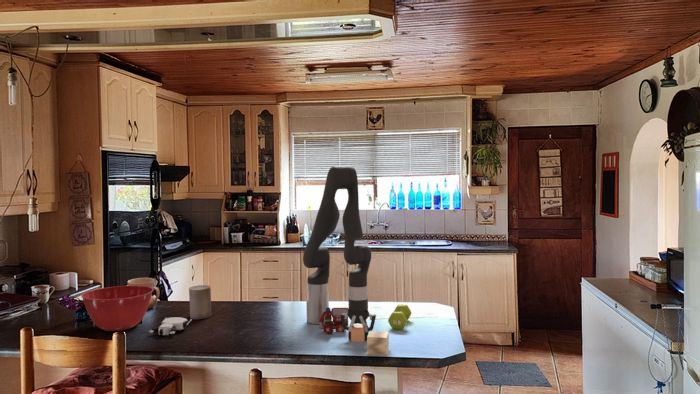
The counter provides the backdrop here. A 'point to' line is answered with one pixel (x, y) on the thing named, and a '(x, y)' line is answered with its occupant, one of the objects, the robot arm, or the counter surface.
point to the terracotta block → (357, 333)
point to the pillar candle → (200, 302)
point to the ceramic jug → (148, 283)
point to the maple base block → (377, 342)
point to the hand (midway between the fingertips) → (358, 340)
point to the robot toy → (170, 325)
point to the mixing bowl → (117, 306)
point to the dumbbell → (399, 317)
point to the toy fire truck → (329, 324)
